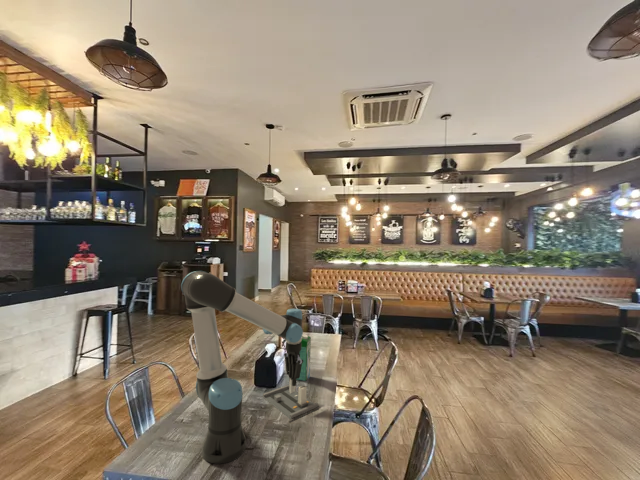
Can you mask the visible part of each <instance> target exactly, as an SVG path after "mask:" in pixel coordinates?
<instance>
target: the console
mask: <svg viewBox="0 0 640 480" xmlns="http://www.w3.org/2000/svg"><path fill="white" fill-rule="evenodd" d="M261 397H262V398H263V399H264V400H266V401H267V403H269V404H270V405H272V406H273V407H275V409H277V410H278V411H279V412H281V413H282V414H283V415H284V416H285V417H287V418H288V419H289V420H290V421H289V422H288V423H293V422H295V421H297V420H300V419H301V418H303V417H306V416H309V415H310V414H313V413H314V412H316V411H319V409H320V408H318V407H320V406H319V403H317V402H313V401H311V400H310V399H309V398H308V397H306V402H307V403H308V406H306V407H304V408H301V407H299V406H298V405H297V404H296V402H297V401H298V391H297V390H296V391H295V392H293V393H290V392H289V384H287V385H284V386H281V387H278V388H276V389H273V390H269V391H267V392H264V393H263V394H262V396H261ZM309 411H310V412H309ZM304 413H305V414H304Z"/></svg>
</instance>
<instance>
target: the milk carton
mask: <svg viewBox="0 0 640 480" xmlns="http://www.w3.org/2000/svg"><path fill="white" fill-rule="evenodd" d="M311 338H312V337H311V336H309V335H307V334H304V333H303V335H302V341H301V343H302V346H301V351H300V359H301V360H302V359H303V363H302V367H301V372H300V377H299V378H298V379H296V381H305V382H306V381H307V380H308V379H310V377H311V344H312V343H311V341H312V339H311Z"/></svg>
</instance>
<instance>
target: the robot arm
mask: <svg viewBox="0 0 640 480" xmlns="http://www.w3.org/2000/svg"><path fill="white" fill-rule="evenodd" d="M180 288H181V292H182V295H184V301H185V307H186V310H188V311H189V312H191V318H192V326H193V332H194V339H195V346H196V354H197V359H198V366H199V370H198V371H197V372H196V383H195V391H196V394H197V397H198V398H199V399H200V400H201V401H202V403H203V405H204V407H205V409H206V410H207V412H208V413H207V414H208V420H207V421H208V424H207V427H208V428H207V429H208V430H207V432H206V435H205V437H204V438H205V439H204V441H203V443H202V449H201V451H202V453H201V454H202V458H203V459H204V460H205V461H206V462H208V463H211V464H217V465H219V464H220V465H221V464H226V463H229V462H232V461H234V460H236V459H238V458H239V457H240V456H242V454H243V453H244V451H245V450H246V446H247V445H246V443H247V438H246V436H245V433H244V432H245V431H244V428H243V426H242V414H243V413H242V412H243V411H242V409H243V394H244V393H243V386H242V384H241V383H240V381H239V380H237V379H235V378H231V377H229V375H228V367H227V364H225V363H223V360H222V354H221V344H220V340H219V339H220V338H219V331H218V330H219V329H218V323H217V317H216V316H217V315H216V310H217V311H219V312H221V313H224V312H227V313H230V314H232V315H234V316H236V317H238V318H240V319H243V320H245V321H247V322H249V323H251V324H253V325H255V326H257V327H259V328H261V329H262V332H263V333H264V334H265V335H276V336H278V337H280V338H282V339H284V340H285V351H286V352H285V353H284V354H283V356H284V361H285V362H284V363H285V373H286V375H288V383H289V384H288V385H289V392H290V393H293V392H295V391H296V392H297V390H296V388H297V380H296V379H298V378H299V377H300V372H301V367H302V363H303V359H302V360H301V359H300V351H301V346H302V343H301V341H302V335H303V334H304V331H303V311H302V310H301V309H300V308H289V309H287V310H286V314H282V315H281V314H278V313H276V312H274V311H272V310H270V309H268V308H267V307H265V306H263V305H261V304H260V303H258V302H255V301H253V300H251V299H250V298H248V297H247V296H244V295H242V294H241V293H238V292H237V290H236V288H235V287H233V286H231V285H229V284H228V283H227V282H225V281H224V280H222V279H220V278H219V277H218V276H217V275H215V274H213V273H208V272H207V271H203V270H196V271H191V272H189V273H188V274H187V275H185V277H183V279H182V281H181V284H180Z"/></svg>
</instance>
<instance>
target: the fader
mask: <svg viewBox="0 0 640 480" xmlns="http://www.w3.org/2000/svg"><path fill="white" fill-rule="evenodd" d="M307 388H308V387H307V386H306V385H301V386H299V387H298V389H297V390H298V391H297V392H298V401H297V402H296V404H297V405H298V406H299V407H301V408H304V407H306V406H308V403H307V402H306V398H307Z"/></svg>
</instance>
